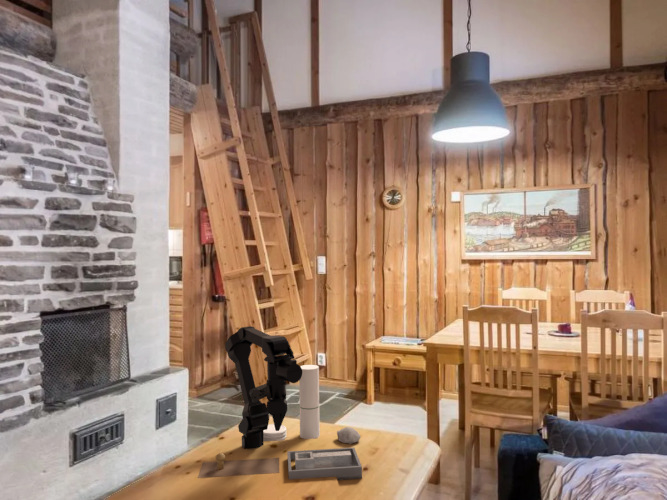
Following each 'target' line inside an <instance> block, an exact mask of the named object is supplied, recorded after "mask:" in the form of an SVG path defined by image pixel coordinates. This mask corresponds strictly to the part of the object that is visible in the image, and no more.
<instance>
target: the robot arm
mask: <svg viewBox="0 0 667 500" xmlns="http://www.w3.org/2000/svg"><path fill="white" fill-rule="evenodd" d="M252 345H255V346H257V347H259V348H261V352H262V354H264V355H266V356H265V357H264V358H263V360H264V361H265V362H266V363H267V364H266V365H267V367H266V369H267V371H266V374H267V379H266V383H264V384H261V385H259V386H256V383H255V379H254V376H253V371H252V367H251V364H250V363H251V362H250V355H251V352H252V347H251V346H252ZM224 348H225V351H226V354H227V357H228V358H229V360H231V361H232V362H233V363H234V365H235V368H236V374H237V377H238V381H239V386H240V390H241V394H242V398H243V403H244V406H243V409H242V412H241V415H242V419H241V420H240V422H239V424H238V426H237V427H238V432H239V433H240V434H242V436H241V448H243V449H244V450H248V449H250V450H254V449H255V450H256V449H259V448H261V447H262V446H264V443H265V441H264V437H263V430H267V428H268V425H269V422H270V416H271V417H272V422H273V424H274V426H275V430H276V431H279V430H280V427H281V425H283V422H284V419H285V416H286V414H288V413H287V412H288V401H287V386H286V385H287V382H288V383H290V384H296V383H298V382H299V380H300V379H301V377H302V369H301V367H300V366H301V365H299V364H297V362H298V360H297V359H295V356H294V355H295V354H294V351H293V350H292V347H291V345H290V343H289V341H288V340H287V338H286V337H285V336H283V335H270V334H267V333H266V332H263V331H261V330H258V329H257V328H255V326H251V325H249V326H243V327H242V326H241V327H239V328H238V330H237V331H235V333H233V334H231V335H230V336H229V337H228V338H227V340H226V341H225V343H224ZM264 398H265V399H266V400H267V402H266V403H265V402H261V400H262V399H264Z"/></svg>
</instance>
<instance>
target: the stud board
mask: <svg viewBox="0 0 667 500" xmlns="http://www.w3.org/2000/svg"><path fill="white" fill-rule="evenodd" d="M279 473H280V457H267V458H264V457H263V458H252V459H251V458H249V459H237V460H236V459H235V460H233V459H232V460H231V459H230V460H226V455H225V454H224V453H223V452H219V453H217V454H216V455H215V461H204V462H203V461H202V463H201V466H200V470H199V473H198V475H197V479H205V478H206V479H207V478H221V477H235V476H237V477H238V476H251V475H265V474H269V475H270V474H279Z"/></svg>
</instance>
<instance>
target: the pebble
mask: <svg viewBox="0 0 667 500" xmlns="http://www.w3.org/2000/svg"><path fill="white" fill-rule="evenodd" d="M336 435H337V439H338V441H339V442H341V444H343V443H344V444H348V445H352V444H354V443H357V442H359V441H360V439H361V435H360V433H359V432H358V430H357V429H355V428H353V427H351V426H346V427H344V428H341V429H340V430H336Z"/></svg>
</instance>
